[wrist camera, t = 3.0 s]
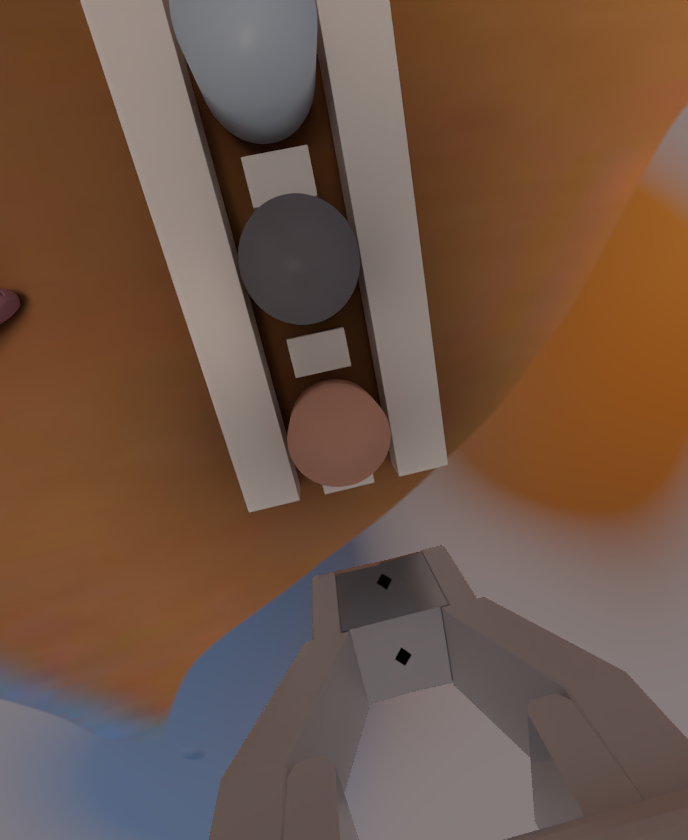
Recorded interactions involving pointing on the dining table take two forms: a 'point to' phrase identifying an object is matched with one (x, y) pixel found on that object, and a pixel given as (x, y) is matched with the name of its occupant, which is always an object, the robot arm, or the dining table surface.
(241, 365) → the button board
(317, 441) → the terracotta button
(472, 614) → the robot arm
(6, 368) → the dining table surface
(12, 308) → the video game controller
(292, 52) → the pale blue button
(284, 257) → the charcoal button
